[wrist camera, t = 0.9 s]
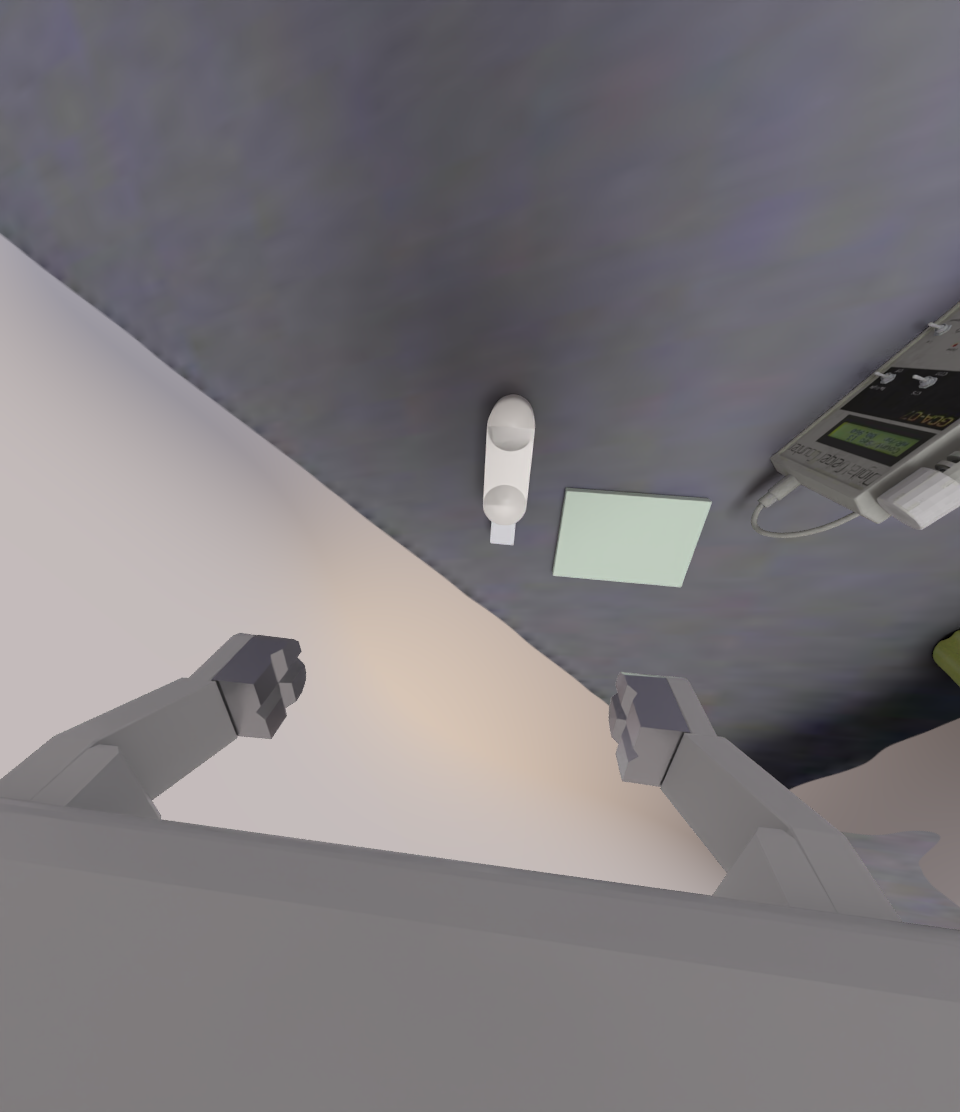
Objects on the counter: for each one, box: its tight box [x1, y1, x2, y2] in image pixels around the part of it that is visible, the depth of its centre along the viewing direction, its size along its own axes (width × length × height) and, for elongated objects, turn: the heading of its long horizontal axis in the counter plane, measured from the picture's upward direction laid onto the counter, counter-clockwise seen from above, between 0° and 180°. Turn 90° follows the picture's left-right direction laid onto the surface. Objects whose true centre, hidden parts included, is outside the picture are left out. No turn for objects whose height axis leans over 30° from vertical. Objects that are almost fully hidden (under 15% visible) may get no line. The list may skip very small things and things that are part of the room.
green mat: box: [553, 488, 712, 587], centre depth 41 cm, size 10×14×1 cm
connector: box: [483, 394, 535, 545], centre depth 37 cm, size 14×4×5 cm, turn 177°
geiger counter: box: [751, 301, 960, 538], centre depth 27 cm, size 14×6×25 cm
